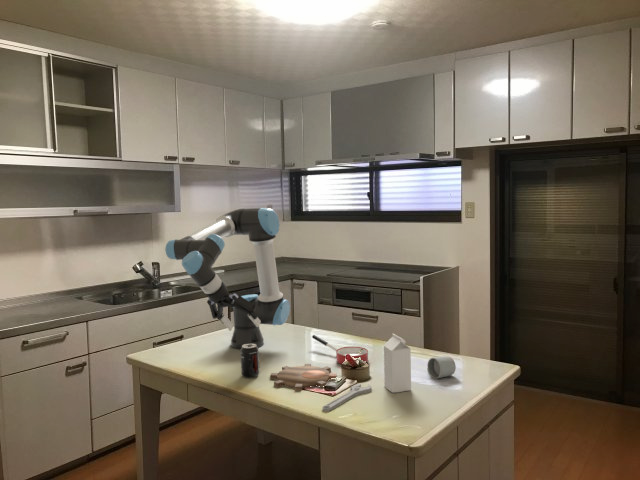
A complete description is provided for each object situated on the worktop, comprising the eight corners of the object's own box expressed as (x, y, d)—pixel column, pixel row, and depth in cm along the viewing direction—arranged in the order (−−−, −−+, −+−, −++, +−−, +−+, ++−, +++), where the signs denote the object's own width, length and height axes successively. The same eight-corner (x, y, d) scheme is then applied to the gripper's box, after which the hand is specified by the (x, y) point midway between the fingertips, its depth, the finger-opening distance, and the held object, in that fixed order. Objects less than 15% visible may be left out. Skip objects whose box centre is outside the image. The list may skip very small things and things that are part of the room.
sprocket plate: (277, 367, 213) (277, 363, 212) (339, 367, 210) (338, 363, 209) (263, 390, 188) (263, 385, 188) (333, 391, 185) (333, 386, 185)
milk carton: (392, 393, 181) (391, 339, 180) (384, 386, 188) (383, 334, 186) (411, 390, 183) (410, 337, 182) (402, 383, 190) (401, 332, 188)
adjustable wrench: (327, 414, 167) (327, 408, 167) (312, 409, 171) (312, 403, 171) (374, 390, 186) (374, 385, 185) (359, 386, 190) (359, 381, 190)
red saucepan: (299, 353, 231) (298, 339, 231) (319, 346, 240) (319, 332, 240) (353, 368, 208) (353, 353, 208) (374, 360, 218) (374, 345, 217)
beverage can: (261, 373, 206) (260, 343, 205) (255, 379, 199) (254, 348, 198) (245, 372, 207) (244, 342, 206) (238, 378, 201) (237, 347, 200)
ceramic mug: (457, 377, 195) (457, 356, 195) (440, 381, 192) (440, 360, 191) (438, 369, 205) (437, 350, 204) (421, 373, 201) (421, 353, 200)
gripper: (184, 299, 195) (217, 336, 205) (235, 290, 182) (267, 330, 192) (194, 285, 200) (225, 322, 211) (243, 275, 188) (274, 315, 198)
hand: (245, 326), depth 202 cm, fingers open, 13 cm apart
